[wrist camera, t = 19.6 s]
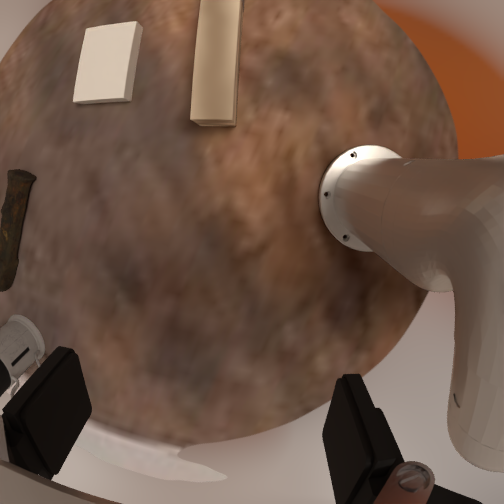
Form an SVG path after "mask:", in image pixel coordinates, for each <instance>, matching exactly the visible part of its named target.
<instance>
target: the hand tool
mask: <svg viewBox="0 0 504 504" xmlns="http://www.w3.org/2000/svg"><path fill="white" fill-rule="evenodd" d="M7 174H8V187H7V191H6V197H5V202H4V204H3V206H2V209H1V213H2V219H1V227H0V291H2V292H3V291H6V290H8V289H9V288H10V287H11V285H12V283H13V280H14V278H15V274H16V270H17V266H18V262H19V259H18V257H17V250H18V245H19V239H20V235H21V227H22V222H23V217H24V213H25V209H26V202H27V199H28V193H29V189H30V185H31V183H32V182H33V181H34V180H35V179H36V176H35V175H32V174H31V173H29V172H27V171H23V170H20V169H18V170H17V169H16V170H9V171H8V173H7Z"/></svg>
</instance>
